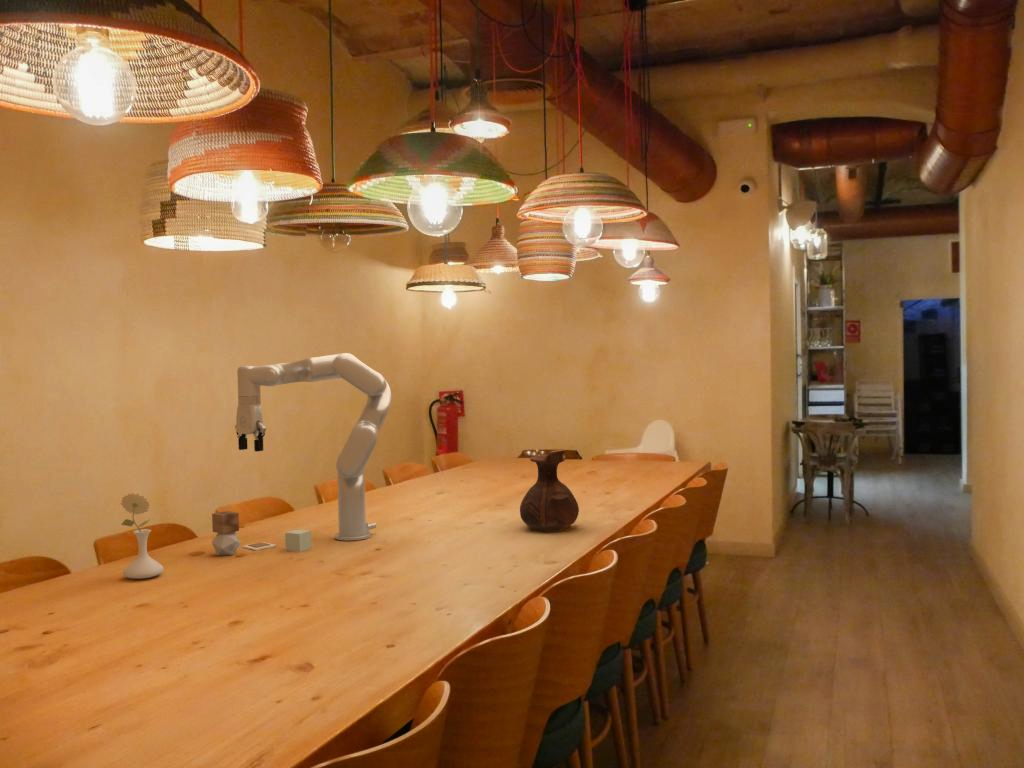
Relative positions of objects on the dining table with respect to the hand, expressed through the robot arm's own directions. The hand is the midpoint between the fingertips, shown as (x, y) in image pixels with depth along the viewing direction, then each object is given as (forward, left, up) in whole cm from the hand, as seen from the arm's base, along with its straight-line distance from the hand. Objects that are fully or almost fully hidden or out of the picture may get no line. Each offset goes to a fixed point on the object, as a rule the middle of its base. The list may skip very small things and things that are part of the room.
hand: (250, 450), depth 310 cm
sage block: (-3, +22, -32) cm, 39 cm away
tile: (+3, +8, -32) cm, 33 cm away
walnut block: (+16, +9, -25) cm, 31 cm away
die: (+16, +9, -32) cm, 37 cm away
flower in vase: (+48, +15, -32) cm, 60 cm away
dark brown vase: (-79, +69, -32) cm, 110 cm away
